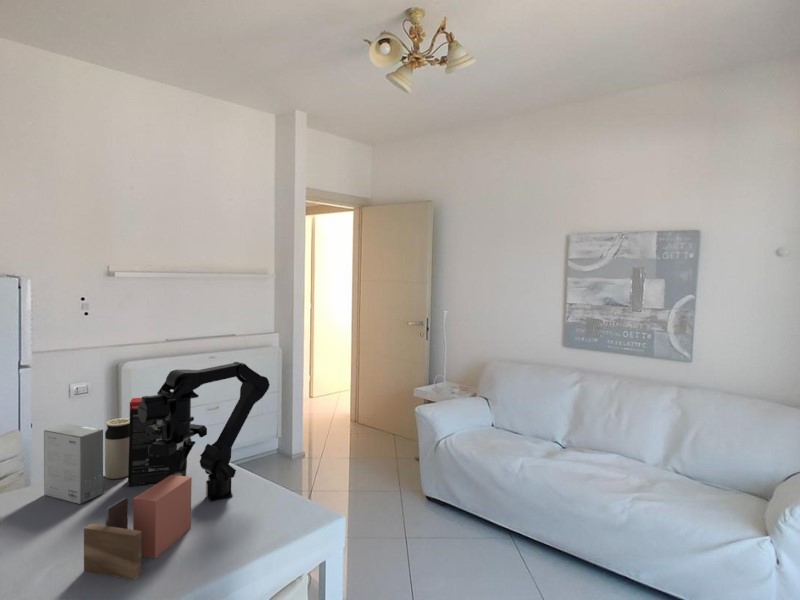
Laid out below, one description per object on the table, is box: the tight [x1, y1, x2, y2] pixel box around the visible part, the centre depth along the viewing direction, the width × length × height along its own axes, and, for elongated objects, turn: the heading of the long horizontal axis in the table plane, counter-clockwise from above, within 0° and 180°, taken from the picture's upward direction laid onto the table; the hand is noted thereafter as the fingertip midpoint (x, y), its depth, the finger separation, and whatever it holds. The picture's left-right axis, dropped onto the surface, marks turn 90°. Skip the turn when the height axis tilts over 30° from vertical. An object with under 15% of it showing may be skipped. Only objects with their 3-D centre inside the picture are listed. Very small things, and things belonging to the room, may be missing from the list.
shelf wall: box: [83, 523, 142, 580], centre depth 108 cm, size 2×13×10 cm, turn 80°
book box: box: [132, 475, 193, 559], centre depth 121 cm, size 14×6×14 cm, turn 170°
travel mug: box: [104, 417, 130, 480], centre depth 159 cm, size 8×8×18 cm
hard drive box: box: [43, 423, 104, 505], centre depth 144 cm, size 16×8×20 cm, turn 71°
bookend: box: [105, 496, 129, 529], centre depth 113 cm, size 6×5×14 cm
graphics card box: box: [127, 397, 188, 486], centre depth 156 cm, size 17×7×27 cm, turn 114°
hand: (179, 468), depth 137 cm, fingers closed
